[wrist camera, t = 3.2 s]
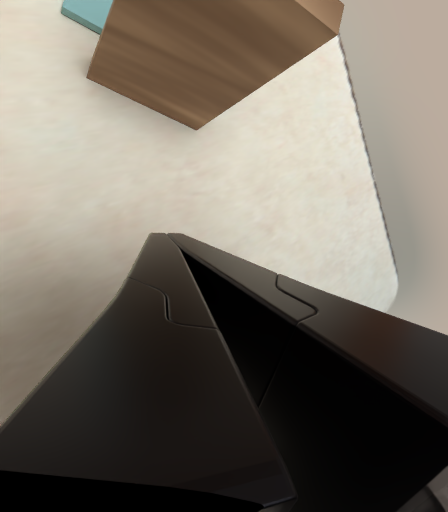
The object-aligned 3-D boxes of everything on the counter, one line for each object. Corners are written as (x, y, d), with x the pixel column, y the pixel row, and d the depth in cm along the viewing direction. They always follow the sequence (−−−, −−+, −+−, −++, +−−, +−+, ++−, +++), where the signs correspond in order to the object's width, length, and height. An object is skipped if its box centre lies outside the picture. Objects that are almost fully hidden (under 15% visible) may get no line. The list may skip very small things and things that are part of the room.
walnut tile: (196, 130, 23) (337, 34, 13) (86, 77, 20) (156, -111, 9) (200, 113, 23) (344, 4, 13) (92, 58, 20) (166, -150, 9)
